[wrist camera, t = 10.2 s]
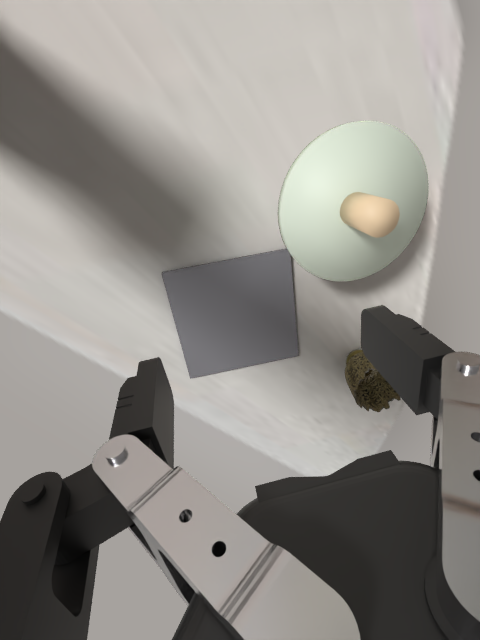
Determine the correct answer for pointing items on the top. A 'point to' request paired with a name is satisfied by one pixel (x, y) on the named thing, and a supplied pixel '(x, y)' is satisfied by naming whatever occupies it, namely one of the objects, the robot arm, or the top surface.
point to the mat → (234, 312)
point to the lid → (353, 200)
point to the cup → (367, 383)
